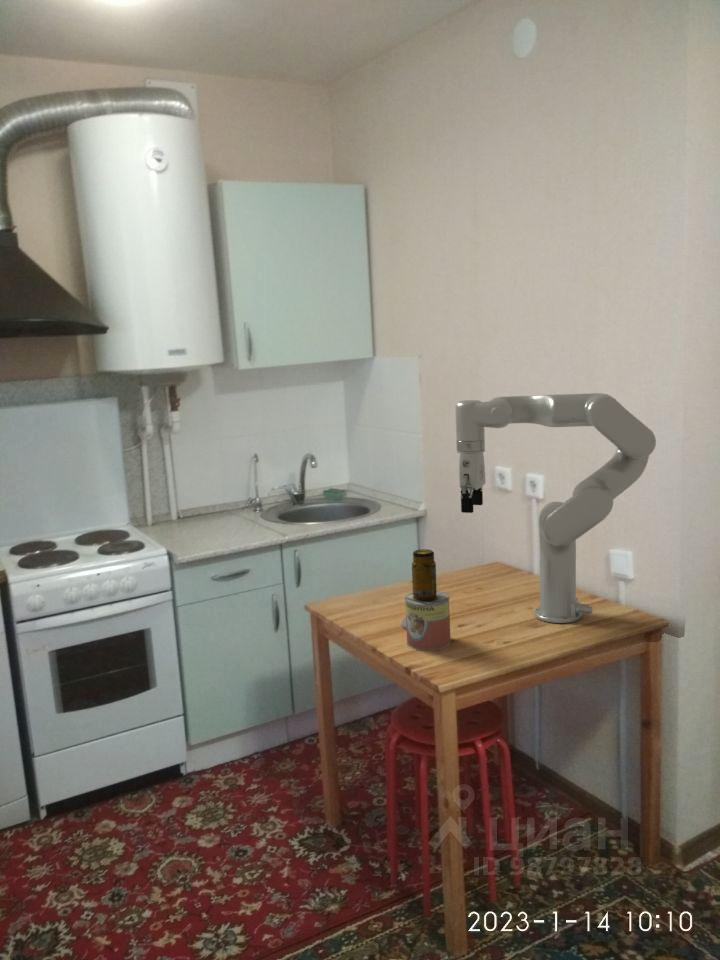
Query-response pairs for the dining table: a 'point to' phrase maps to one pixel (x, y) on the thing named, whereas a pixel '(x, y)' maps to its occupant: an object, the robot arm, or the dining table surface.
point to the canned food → (428, 624)
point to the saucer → (404, 623)
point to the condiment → (424, 577)
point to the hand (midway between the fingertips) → (472, 508)
